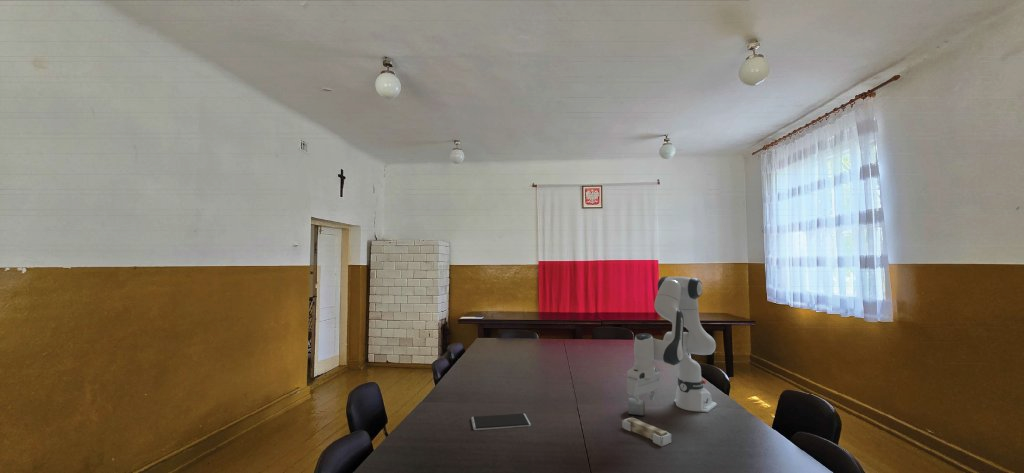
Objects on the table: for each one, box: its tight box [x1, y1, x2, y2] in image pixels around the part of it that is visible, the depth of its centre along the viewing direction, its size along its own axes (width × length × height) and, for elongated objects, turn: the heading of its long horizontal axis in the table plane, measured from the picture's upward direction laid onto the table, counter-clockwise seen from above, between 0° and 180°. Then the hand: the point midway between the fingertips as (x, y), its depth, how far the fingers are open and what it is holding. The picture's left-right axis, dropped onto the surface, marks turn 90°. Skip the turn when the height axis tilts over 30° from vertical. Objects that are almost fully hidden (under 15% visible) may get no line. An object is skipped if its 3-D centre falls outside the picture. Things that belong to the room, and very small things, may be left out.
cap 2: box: [652, 431, 672, 447], centre depth 164 cm, size 4×7×4 cm
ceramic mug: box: [627, 397, 646, 416], centre depth 195 cm, size 11×8×8 cm
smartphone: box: [471, 413, 532, 431], centre depth 183 cm, size 13×27×2 cm, turn 100°
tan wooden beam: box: [626, 417, 668, 441], centre depth 171 cm, size 18×4×4 cm, turn 36°
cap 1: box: [621, 416, 639, 432], centre depth 178 cm, size 4×7×4 cm
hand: (645, 401), depth 172 cm, fingers open, 8 cm apart
